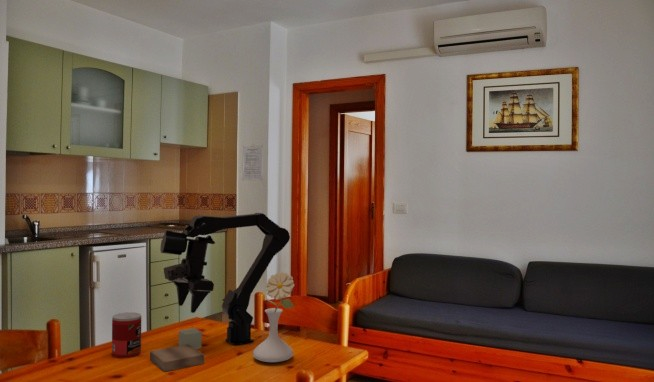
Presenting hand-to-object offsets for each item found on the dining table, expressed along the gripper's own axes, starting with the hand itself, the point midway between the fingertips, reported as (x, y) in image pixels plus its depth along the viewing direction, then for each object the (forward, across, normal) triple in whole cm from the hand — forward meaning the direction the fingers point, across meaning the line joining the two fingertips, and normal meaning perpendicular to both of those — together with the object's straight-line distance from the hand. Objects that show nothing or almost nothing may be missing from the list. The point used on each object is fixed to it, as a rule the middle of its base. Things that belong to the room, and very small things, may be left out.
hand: (186, 309), depth 153 cm
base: (+12, +10, -5) cm, 17 cm away
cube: (+12, 0, +3) cm, 12 cm away
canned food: (+14, -5, -14) cm, 20 cm away
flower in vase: (+8, +24, +18) cm, 31 cm away
